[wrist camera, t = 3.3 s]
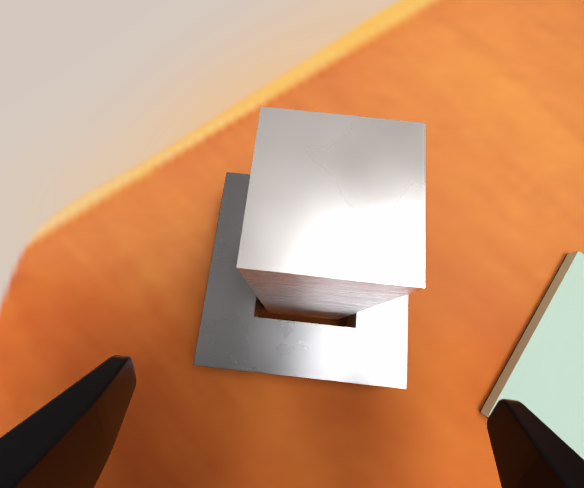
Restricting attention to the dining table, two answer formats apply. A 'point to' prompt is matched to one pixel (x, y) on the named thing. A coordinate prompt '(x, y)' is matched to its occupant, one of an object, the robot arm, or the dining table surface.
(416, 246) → the peg
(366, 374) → the socket block
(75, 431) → the robot arm
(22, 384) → the dining table surface
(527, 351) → the pad
